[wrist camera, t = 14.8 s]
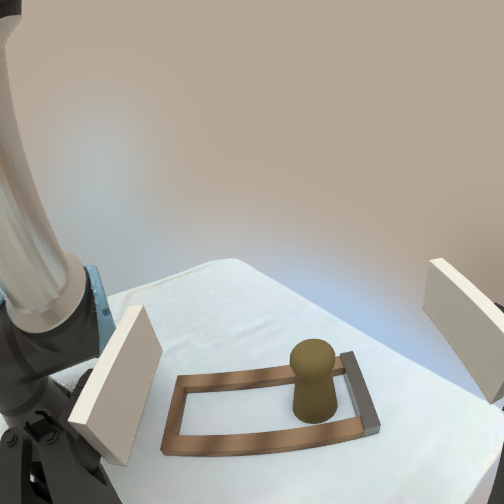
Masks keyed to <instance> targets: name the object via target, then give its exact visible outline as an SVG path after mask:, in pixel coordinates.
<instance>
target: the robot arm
mask: <svg viewBox="0 0 504 504" xmlns="http://www.w3.org/2000/svg"><path fill="white" fill-rule="evenodd" d="M21 2H22V0H0V288H1V290H2V291H3V292H4V294H5V295H6V300H5V299H4V295H3V294H2V293H1V292H0V413H1V414H2V415H3V417H4V419H5V421H6V423H7V425H8V427H9V429H8V430H6V431H5V432H4V434H3V435H2V437H1V441H0V504H122V502H121V501H120V499H119V497H118V495H117V493H116V492H115V490H114V488H113V486H112V484H111V482H110V480H109V478H108V476H107V474H106V472H105V470H104V468H103V466H102V465H101V464H100V463H99V461H100V458H101V456H102V457H103V458H104V459H105V460H106V461H107V462H108V463H110V464H115V465H121V466H127V464H128V460H129V457H130V453H131V449H132V446H133V442H134V439H135V436H136V432H137V429H138V426H139V422H140V419H141V416H142V412H143V409H144V406H145V403H146V400H147V396H148V393H149V390H150V387H151V384H152V381H153V378H154V375H155V372H156V369H157V366H158V363H159V360H160V357H161V354H162V351H163V350H162V348H161V346H160V344H159V341H158V339H157V337H156V334H155V332H154V330H153V327H152V325H151V323H150V320H149V318H148V315H147V313H146V310H145V308H144V305H139V306H130V307H129V308H128V309H127V311H126V313H125V314H124V316H123V318H122V319H121V321H120V323H119V324H118V326H117V328H116V327H115V324H114V321H113V318H112V315H111V312H110V309H109V305H108V302H107V298H106V295H105V292H104V288H103V285H102V281H101V278H100V275H99V272H98V269H97V267H96V266H94V265H90V266H88V265H86V266H83V265H82V264H81V262H80V261H79V259H78V258H77V257H76V256H74V255H73V254H70V253H68V252H65V251H62V250H61V248H60V246H59V244H58V241H57V239H56V237H55V235H54V232H53V230H52V228H51V225H50V223H49V221H48V218H47V216H46V213H45V211H44V208H43V206H42V203H41V201H40V198H39V195H38V192H37V190H36V187H35V184H34V181H33V178H32V175H31V172H30V169H29V166H28V162H27V159H26V156H25V153H24V149H23V146H22V141H21V138H20V134H19V130H18V126H17V121H16V117H15V113H14V107H13V103H12V97H11V92H10V86H9V79H8V71H7V63H6V53H5V44H6V42H7V39H8V38H9V36H10V35H11V33H12V32H13V30H14V29H15V28H16V26H17V25H18V24H19V22H20V21H21ZM423 311H424V312H425V313H426V315H427V316H428V317H429V319H430V320H431V321H432V322H433V324H434V325H435V326H436V327H437V329H438V330H439V331H440V333H441V334H442V335H443V337H444V338H445V339H446V341H447V342H448V343H449V345H450V346H451V347H452V349H453V350H454V352H455V353H456V355H457V356H458V357H459V358H460V360H461V362H462V363H463V364H464V366H465V367H466V369H467V370H468V372H469V373H470V375H471V376H472V378H473V379H474V381H475V382H476V384H477V385H478V387H479V388H480V390H481V391H482V393H483V394H484V396H485V397H486V399H487V401H488V402H489V404H492V403H494V402H496V401H497V400H499V399H501V398H502V397H503V396H504V307H503V306H501V305H499V304H497V303H492V302H491V301H490V300H489V299H488V298H487V297H486V296H485V295H484V294H483V293H482V292H481V291H480V290H478V289H477V288H476V287H475V286H474V285H473V284H472V283H471V282H470V281H468V280H467V279H466V278H465V277H464V276H463V275H462V274H460V273H459V272H458V271H457V270H456V269H455V268H453V267H452V266H451V265H450V264H449V263H447V262H446V261H445V260H444V259H443V258H438V259H434V260H430V261H429V267H428V275H427V284H426V290H425V297H424V303H423ZM99 357H100V358H99ZM93 358H99V360H98V362H97V364H96V365H95V367H94V369H88V370H87V371H86V372H85V373H84V374H83V375H82V376H81V377H80V379H79V381H78V383H77V385H76V388H75V389H74V390H73V392H72V393H71V392H70V391H69V390H68V389H66V388H65V387H64V386H62V385H61V384H59V383H58V382H57V381H55V380H54V379H53V378H51V377H50V376H49V375H51V374H54V373H56V372H59V371H62V370H64V369H67V368H70V367H72V366H75V365H77V364H80V363H83V362H85V361H88V360H90V359H93ZM502 410H504V407H503V409H502ZM30 474H31V475H32V476H33V477H34V482H32V481H30ZM487 504H504V443H503V448H502V453H501V457H500V462H499V466H498V470H497V474H496V477H495V481H494V484H493V488H492V491H491V494H490V497H489V500H488V503H487Z"/></svg>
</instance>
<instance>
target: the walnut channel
mask: <svg viewBox="0 0 504 504" xmlns="http://www.w3.org/2000/svg"><path fill="white" fill-rule="evenodd" d="M335 358H336V359H335V365H334V368H333V370H332V371H331V372H332V376H337V375H342V374H344V366H343V363H342V360H341V358H340V356H337V357H335ZM295 376H296V375H295V374H294V373H293V371H292V369H291V366H290V365H285V366H279V367H271V368H263V369H255V370H246V371H236V372H226V373H213V374H198V375H178V376H177V380H176V384H175V388H174V392H173V396H172V401H171V405H170V409H169V413H168V417H167V422H166V426H165V430H164V435H163V439H162V444H161V448H160V450H161V451H162V453H163V454H164V455H174V456H244V455H258V454H270V453H279V452H287V451H295V450H302V449H308V448H314V447H320V446H325V445H330V444H335V443H340V442H345V441H349V440H353V439H357V438H361V437H363V435H364V428H363V425H362V422H361V418H360V416H357V417H353V418H349V419H344V420H340V421H335V422H330V423H325V424H319V425H314V426H308V427H301V428H295V429H288V430H280V431H271V432H261V433H250V434H235V435H207V436H187V435H179V432H180V426H181V421H182V416H183V411H184V406H185V401H186V396H187V393H198V392H217V391H231V390H242V389H252V388H261V387H270V386H278V385H285V384H292V383H295Z"/></svg>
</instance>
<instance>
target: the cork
mask: <svg viewBox="0 0 504 504" xmlns="http://www.w3.org/2000/svg"><path fill="white" fill-rule="evenodd" d="M335 359H336V358H335V352H334V350H333V348H332V347H331V345H330V344H328V343H327V342H326V341H323V340H320V339H308V340H305V341H302V342H300V343H299V344H297V345H296V346H295V347H294V349H293V350H292V352H291V354H290V366H291V369H292V371H293V373H294V374H295V375H296V376H295V389H294V400H293V412H294V414H295V416H296V417H297V418H298V419H299V420H301V421H303V422H305V423H311V424H315V423H321V422H324V421H327V420H328V419H329V418H331V417H332V416H333V415H334V413H335V412H336V410H337V398H336V393H335V388H334V382H333V377H332V372H331V371H332V370H333V368H334V365H335Z"/></svg>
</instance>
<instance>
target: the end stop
mask: <svg viewBox="0 0 504 504" xmlns="http://www.w3.org/2000/svg"><path fill="white" fill-rule="evenodd" d="M340 358H341V360H342V363H343V366H344V377H345V380H346V383H347V387H348V390H349V393H350V396H351V399H352V402H353V406H354V409H355V412H356V415H357V416H360V418H361V422H362V425H363V428H364V435H363V437H365V436H369V435H373V434H376V433H378V432H379V429H380V426H381V424H380V421H379V419H378V416H377V413H376V410H375V408H374V405H373V402H372V399H371V397H370V394H369V391H368V389H367V386H366V383H365V381H364V378H363V376H362V373H361V370H360V368H359V365H358V363H357V360H356V358H355V355H354V353H353V351H350V352H346V353H341V354H340Z"/></svg>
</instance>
